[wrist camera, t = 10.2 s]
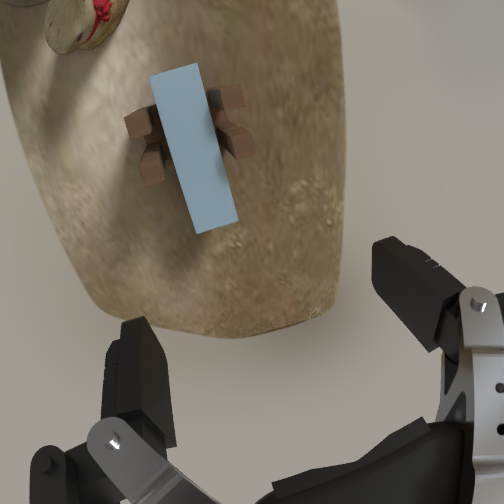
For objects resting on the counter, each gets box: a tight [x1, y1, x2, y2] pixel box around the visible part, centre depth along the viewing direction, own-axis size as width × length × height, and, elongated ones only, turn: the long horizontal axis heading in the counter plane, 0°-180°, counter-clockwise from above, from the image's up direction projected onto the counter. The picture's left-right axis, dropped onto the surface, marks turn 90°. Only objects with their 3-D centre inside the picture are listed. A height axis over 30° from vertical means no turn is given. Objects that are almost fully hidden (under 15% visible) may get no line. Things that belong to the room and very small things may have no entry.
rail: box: [149, 63, 238, 234], centre depth 21 cm, size 11×3×4 cm, turn 13°
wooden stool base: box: [124, 84, 255, 187], centre depth 20 cm, size 4×7×8 cm, turn 102°
